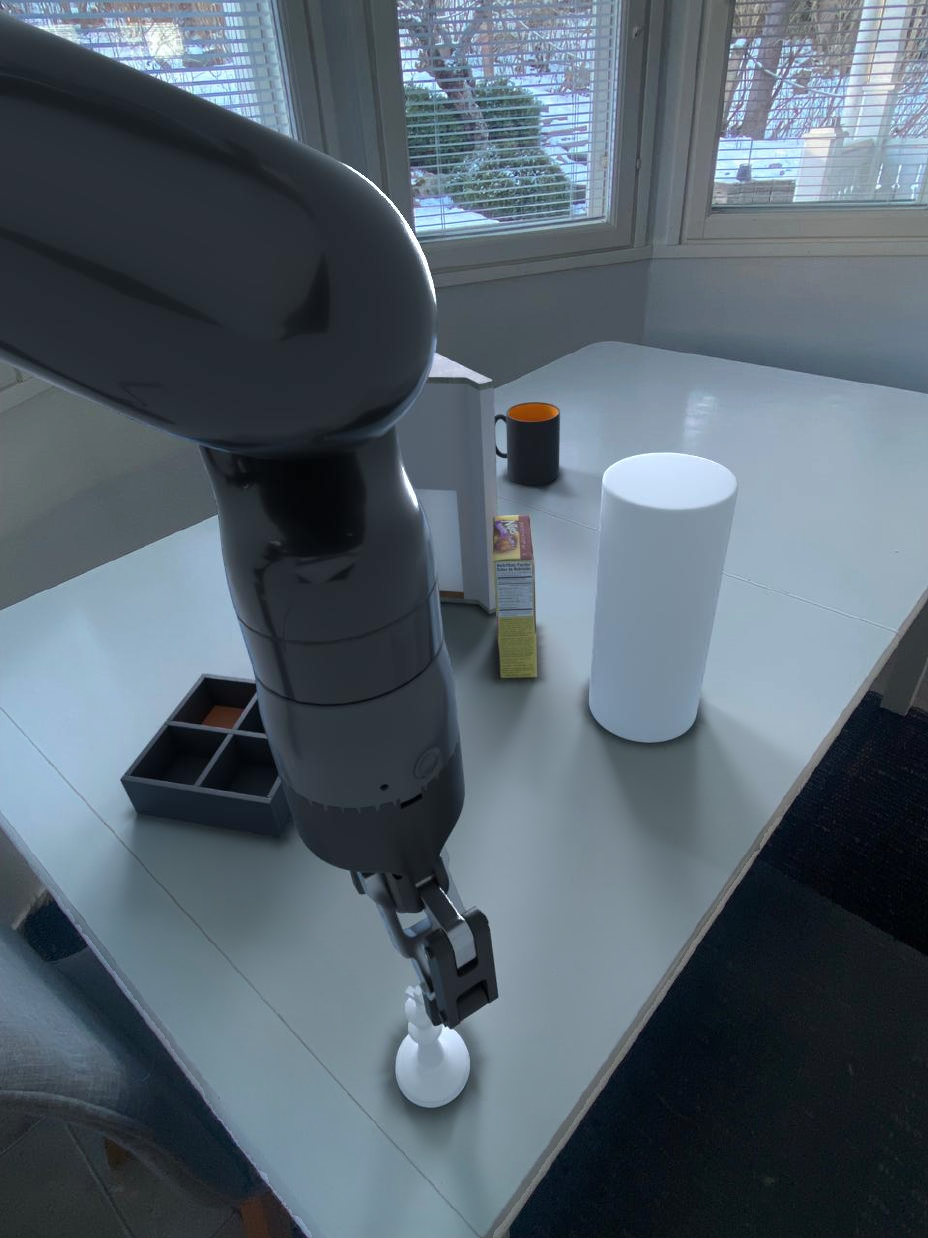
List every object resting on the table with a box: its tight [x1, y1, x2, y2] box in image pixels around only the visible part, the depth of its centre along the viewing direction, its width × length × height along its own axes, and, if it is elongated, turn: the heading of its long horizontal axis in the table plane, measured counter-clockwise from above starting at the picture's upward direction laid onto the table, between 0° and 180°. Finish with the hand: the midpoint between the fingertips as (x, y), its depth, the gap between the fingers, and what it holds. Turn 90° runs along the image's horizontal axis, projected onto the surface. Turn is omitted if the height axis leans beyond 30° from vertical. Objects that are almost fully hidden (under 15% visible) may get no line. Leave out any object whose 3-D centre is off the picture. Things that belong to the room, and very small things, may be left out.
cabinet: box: [396, 352, 499, 615], centre depth 86 cm, size 21×10×28 cm, turn 31°
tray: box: [119, 672, 293, 839], centre depth 69 cm, size 14×14×5 cm
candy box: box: [493, 514, 538, 679], centre depth 77 cm, size 9×4×15 cm, turn 178°
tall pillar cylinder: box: [588, 452, 739, 744], centre depth 67 cm, size 11×11×25 cm
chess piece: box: [394, 984, 471, 1109], centre depth 45 cm, size 5×5×10 cm
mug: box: [495, 401, 561, 486], centre depth 116 cm, size 8×12×10 cm
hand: (409, 942), depth 39 cm, fingers open, 8 cm apart
